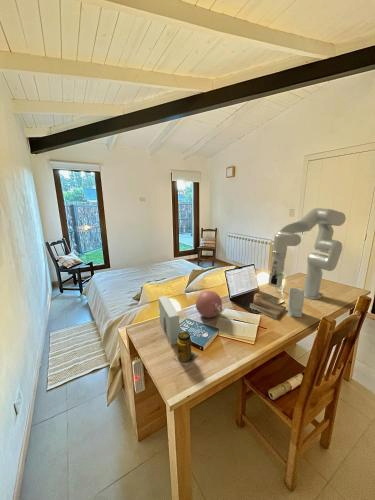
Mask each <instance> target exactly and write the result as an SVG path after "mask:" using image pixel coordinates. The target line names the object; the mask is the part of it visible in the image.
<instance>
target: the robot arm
mask: <svg viewBox="0 0 375 500" xmlns="http://www.w3.org/2000/svg"><path fill="white" fill-rule="evenodd" d="M346 219H347V218H346V214H345V212H341V211H338V210H335V209H330V208H322V207H321V208H320V207H316V208H312V209H311V210H310V211H308V213H307V214H305V215H304V216H303V217H302V218H301V219H300V220H297V221H294V222H291V223H290V224H289V223H288V224H286V225H285V226H284V227H282V228H281V229H280V230H279V231H278V232H277V233H276V234H275V235H274V237H273V238H274V240H273V245H272V246H273V247H272V254H271V255H272V257H273V258H272V261H271V269H270V272H271V273H272V279H271V284H275V285H276V284H277V275H279V274H281V273H283V272H284V271H285V261H286V257H287V251H288V247H296V246H299V245H300V244H301V242H302V237H301V236H300V235H299V234H298V233H306V232H310V231H311V230H312V229H313V228H314V227H315V226H316V225H318V233H317V236H316V238H315V242H314V246H313V247H314V250H315V251H317V252H311V253H310V254H308V255H307V258H306V262H307V265H306V266H307V268H306V275H305V281H304V285H303V290H302V291H303V292H304V298H307V299H310V300H319V299H322V298H321V297H322V296H321V294H320V290H321V285H322V284H321V283H322V279H323V270H324V271H327V272H332V271H334V270H335V269H336V268H337V265H338V263H339V260H340V258H341V255H342V251H343V244H342V242H341V241H339V240H336V239H333V236H334V232H335V231H334V228H333V226H335V227H340V226H343V224H344V223H345V222H346ZM320 252H321V253H320ZM322 253H325V254H322ZM326 254H328V255H326ZM275 272H276V273H275ZM275 274H276V276H275Z"/></svg>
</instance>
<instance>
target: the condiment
mask: <svg viewBox="0 0 375 500" xmlns="http://www.w3.org/2000/svg"><path fill="white" fill-rule="evenodd" d="M176 345H177V346H176V348H177V354H176V355H175V356H174V357H173V359H174V360H175V361H177V362H178V363H180V364H182V365H183V366H184V367H187V366H188V365H190V363H192V361H194V359H196V358H197V356H198V354H197V353H195V352H194V351H192V339H191V334H190V332H189V331H180V333H179V335H178V342H177V344H176Z"/></svg>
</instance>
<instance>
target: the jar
mask: <svg viewBox="0 0 375 500" xmlns="http://www.w3.org/2000/svg"><path fill="white" fill-rule="evenodd" d="M262 298H263V297H262V294H261V293H258V292H257V293H254V296H253V302H252V303H253V304H254V305H256V306H260V305H261V299H262Z"/></svg>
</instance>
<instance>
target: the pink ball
mask: <svg viewBox="0 0 375 500" xmlns="http://www.w3.org/2000/svg"><path fill="white" fill-rule="evenodd" d="M195 308H196V310H197V312H198V313H199V314H200V315H201V316H202V317H205V318H207V319H208V318H209V319H210V318H214V317H216V316H217V315H219V314H220V313H221V312H223V301H222V299H221V297H220V295H219V294H218V293H216V292H215V291H213V290H204V291H202V292H200V293H199V295H198V296H196V299H195Z"/></svg>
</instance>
